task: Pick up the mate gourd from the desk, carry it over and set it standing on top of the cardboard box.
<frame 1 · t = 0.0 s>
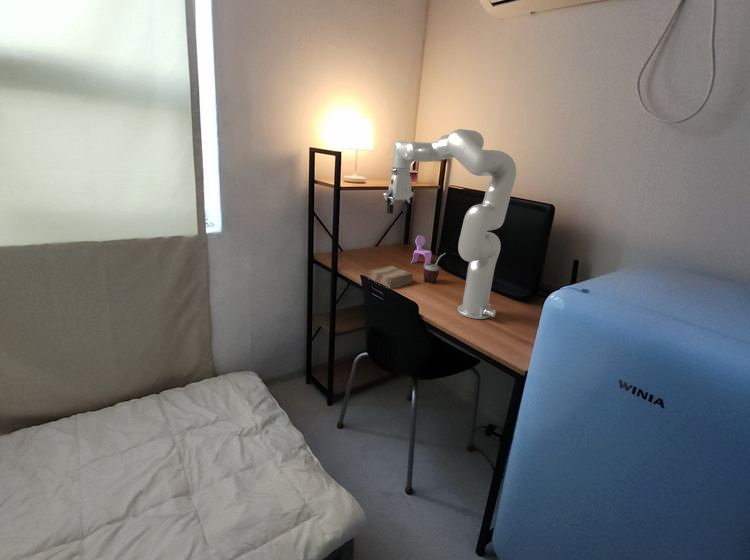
hand: (397, 212, 179), 31 cm above the table, tool pointing down, fingers open, 9 cm apart
toy chair: (420, 264, 217), on the table
mate gourd: (431, 282, 190), on the table
cardboard box: (390, 282, 187), on the table
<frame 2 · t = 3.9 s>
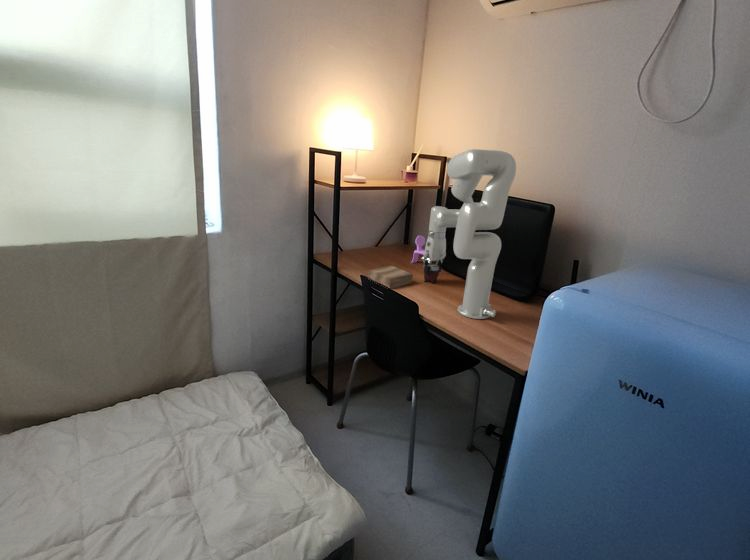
hand: (432, 272, 189), 5 cm above the table, tool pointing down, fingers closed on mate gourd, 7 cm apart
mate gourd: (431, 282, 190), on the table, touching gripper
everything else where it was.
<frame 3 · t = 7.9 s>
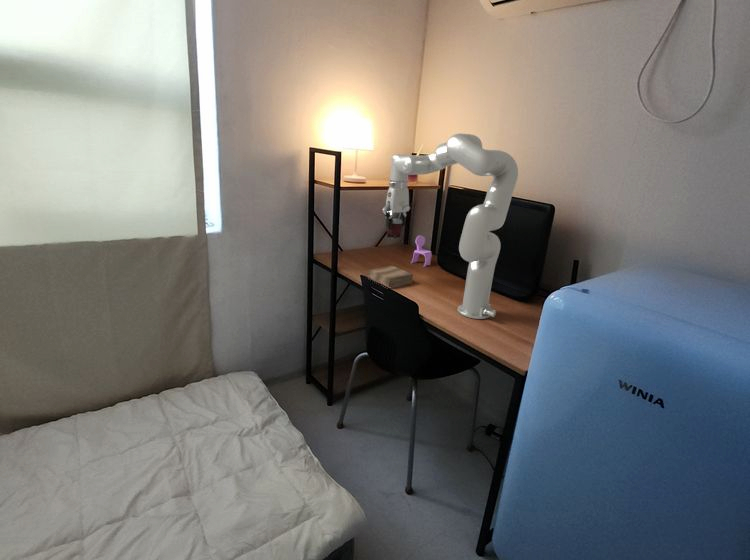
hand: (395, 226, 179), 26 cm above the table, tool pointing down, fingers closed on mate gourd, 7 cm apart
mate gourd: (394, 237, 181), point 21 cm above the table, touching gripper
everything else where it was.
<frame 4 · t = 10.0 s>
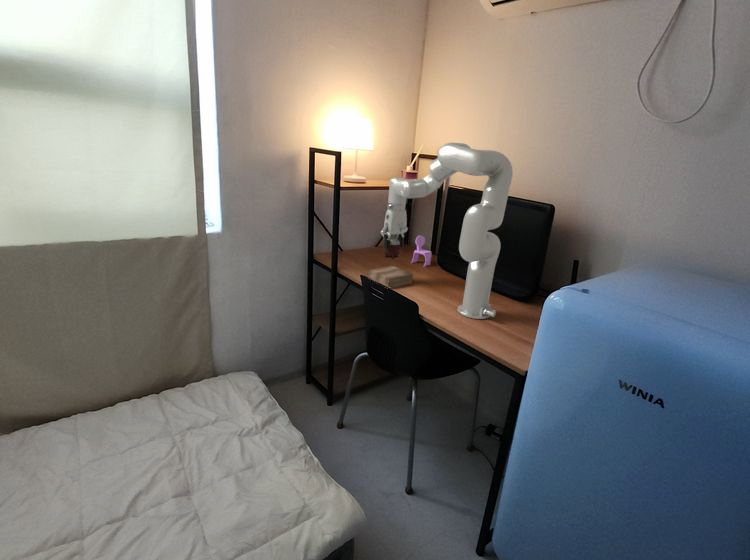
hand: (393, 247, 182), 16 cm above the table, tool pointing down, fingers closed on mate gourd, 7 cm apart
mate gourd: (392, 257, 184), point 11 cm above the table, touching gripper
everything else where it was.
when the fingers open (11 cm above the table, at t = 11.9 s): mate gourd drops 2 cm, resting on cardboard box.
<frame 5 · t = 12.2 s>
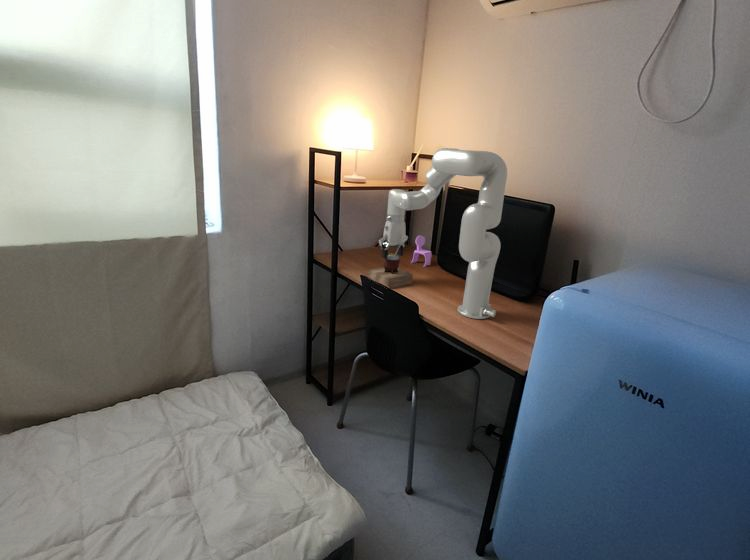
hand: (392, 256, 183), 12 cm above the table, tool pointing down, fingers open, 9 cm apart
mate gourd: (391, 272, 186), point 4 cm above the table, touching cardboard box
cardboard box: (390, 282, 187), on the table, touching mate gourd
everything else where it was.
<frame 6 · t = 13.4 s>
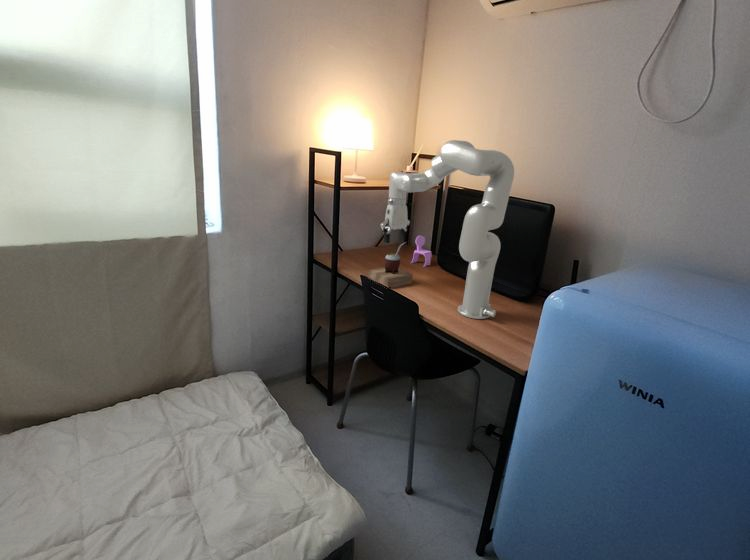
hand: (394, 241, 181), 19 cm above the table, tool pointing down, fingers open, 9 cm apart
nothing on the table moved.
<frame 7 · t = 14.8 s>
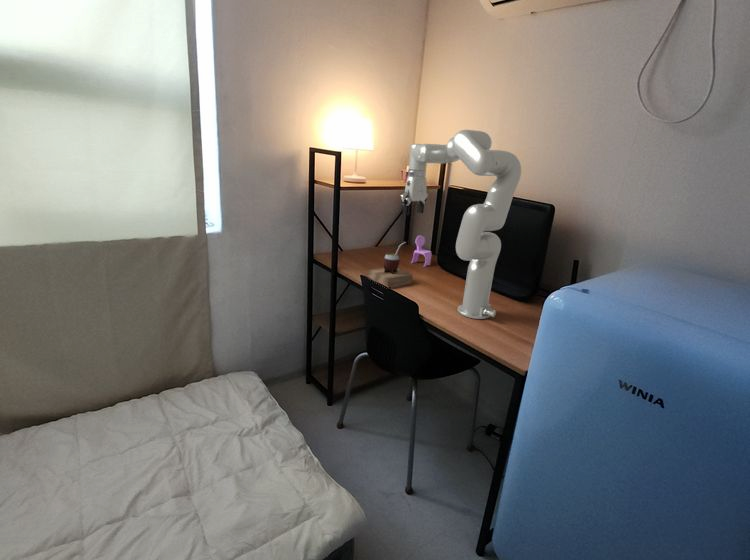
hand: (413, 213, 182), 31 cm above the table, tool pointing down, fingers open, 9 cm apart
nothing on the table moved.
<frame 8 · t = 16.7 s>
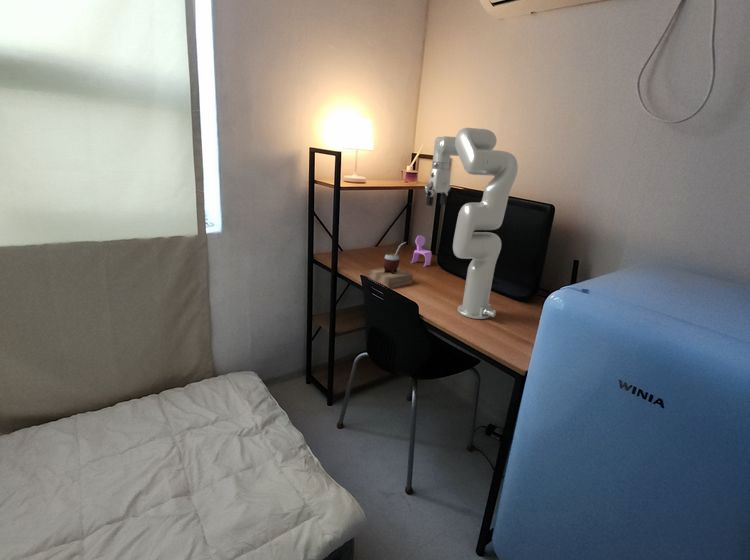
hand: (436, 204, 188), 34 cm above the table, tool pointing down, fingers open, 9 cm apart
mate gourd: (391, 272, 186), point 4 cm above the table
cardboard box: (390, 282, 187), on the table
everything else where it was.
at the end: mate gourd inside the target area on the cardboard box (0.4 cm from its centre), point 4.8 cm above the cardboard box's base; mate gourd tilted 1°; the gripper is holding nothing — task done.
